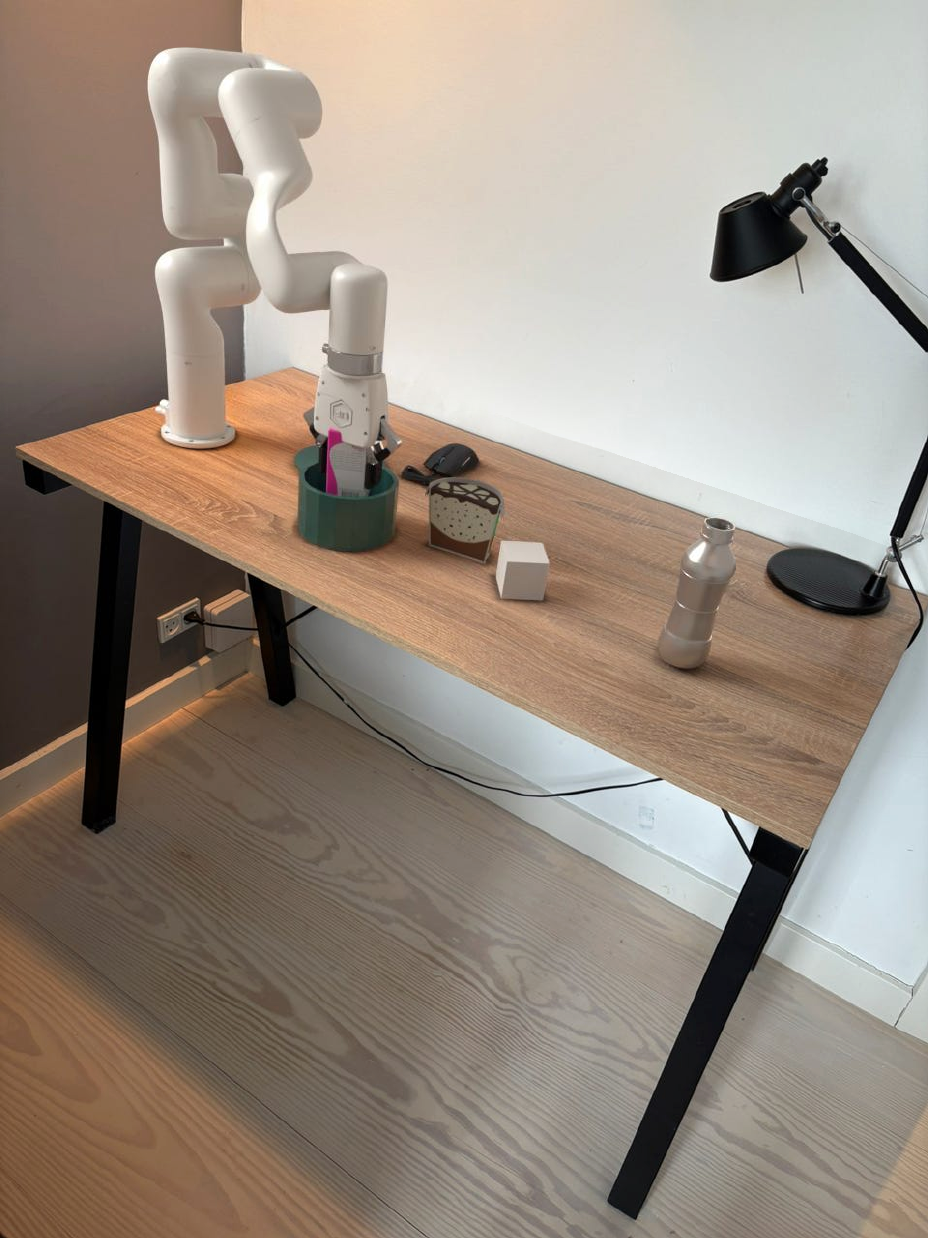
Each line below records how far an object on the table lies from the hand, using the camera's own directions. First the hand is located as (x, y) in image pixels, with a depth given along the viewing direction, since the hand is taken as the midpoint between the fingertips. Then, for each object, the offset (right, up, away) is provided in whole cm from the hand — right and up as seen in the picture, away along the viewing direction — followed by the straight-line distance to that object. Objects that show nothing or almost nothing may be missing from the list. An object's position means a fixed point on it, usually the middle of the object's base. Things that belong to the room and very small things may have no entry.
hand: (349, 477), depth 138 cm
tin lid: (-4, +6, +23) cm, 24 cm away
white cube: (+25, -17, -5) cm, 30 cm away
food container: (+17, -10, +4) cm, 20 cm away
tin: (-1, -7, +4) cm, 8 cm away
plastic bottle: (+45, -26, -16) cm, 55 cm away
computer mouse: (+15, +4, +26) cm, 30 cm away
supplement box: (0, -3, +2) cm, 4 cm away
